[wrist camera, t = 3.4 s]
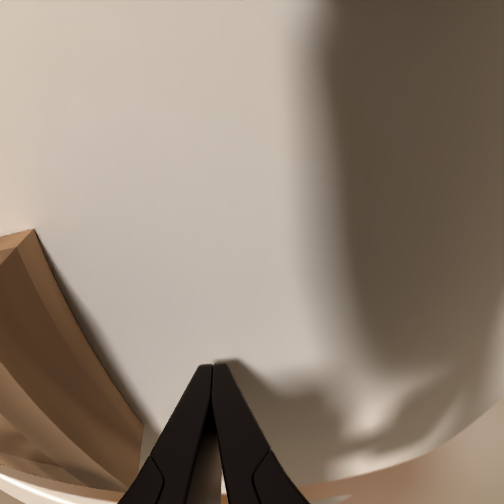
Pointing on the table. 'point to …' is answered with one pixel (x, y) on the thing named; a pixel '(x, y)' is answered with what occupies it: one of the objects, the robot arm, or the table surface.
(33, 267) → the socket block
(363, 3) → the table surface
